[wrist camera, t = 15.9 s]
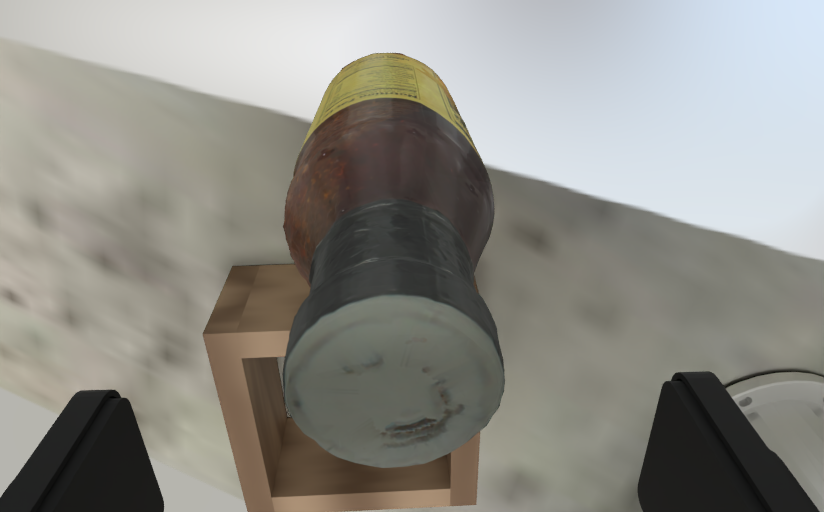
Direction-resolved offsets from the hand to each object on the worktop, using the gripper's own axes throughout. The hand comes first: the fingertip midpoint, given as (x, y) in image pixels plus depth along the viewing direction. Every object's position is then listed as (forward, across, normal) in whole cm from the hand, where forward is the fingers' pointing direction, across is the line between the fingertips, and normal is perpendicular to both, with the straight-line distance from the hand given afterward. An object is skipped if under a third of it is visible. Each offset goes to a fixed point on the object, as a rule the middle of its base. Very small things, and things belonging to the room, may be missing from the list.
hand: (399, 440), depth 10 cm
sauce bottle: (+20, 0, -1) cm, 20 cm away
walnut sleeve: (+20, +3, +14) cm, 25 cm away
